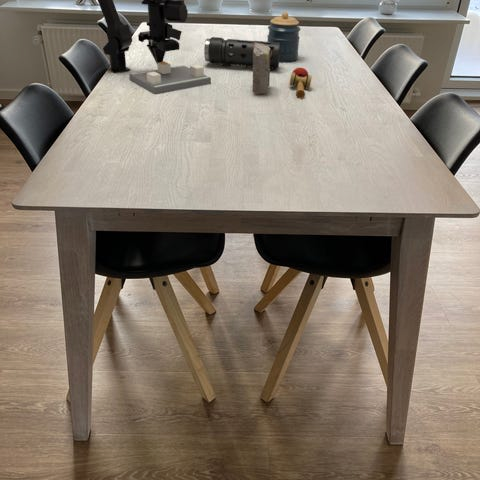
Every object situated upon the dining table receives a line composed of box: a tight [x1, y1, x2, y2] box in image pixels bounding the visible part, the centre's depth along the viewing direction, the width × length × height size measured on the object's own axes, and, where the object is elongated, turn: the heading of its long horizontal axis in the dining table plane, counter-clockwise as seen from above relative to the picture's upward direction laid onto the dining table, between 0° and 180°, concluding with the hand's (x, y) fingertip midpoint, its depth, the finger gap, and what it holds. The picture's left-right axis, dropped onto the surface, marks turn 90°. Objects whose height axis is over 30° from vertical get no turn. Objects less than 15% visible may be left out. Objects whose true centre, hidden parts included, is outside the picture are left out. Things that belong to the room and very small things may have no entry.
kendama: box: [289, 67, 313, 99], centre depth 178 cm, size 8×6×18 cm
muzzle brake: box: [203, 36, 281, 71], centre depth 197 cm, size 10×28×10 cm, turn 82°
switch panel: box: [129, 64, 212, 95], centre depth 181 cm, size 18×22×5 cm
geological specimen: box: [252, 42, 272, 94], centre depth 173 cm, size 11×6×15 cm, turn 173°
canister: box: [266, 11, 301, 63], centre depth 208 cm, size 13×13×18 cm
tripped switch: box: [156, 60, 172, 74], centre depth 182 cm, size 4×3×3 cm
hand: (159, 66), depth 185 cm, fingers closed
